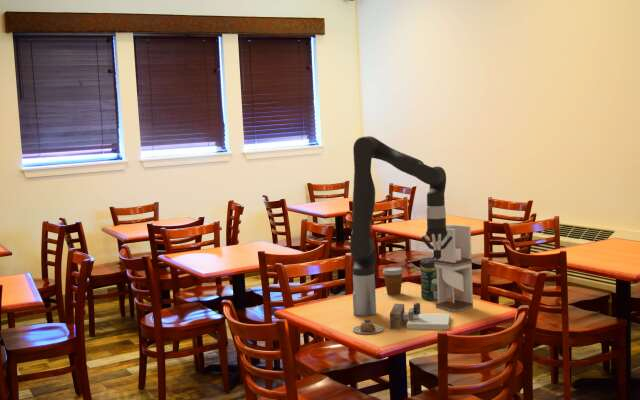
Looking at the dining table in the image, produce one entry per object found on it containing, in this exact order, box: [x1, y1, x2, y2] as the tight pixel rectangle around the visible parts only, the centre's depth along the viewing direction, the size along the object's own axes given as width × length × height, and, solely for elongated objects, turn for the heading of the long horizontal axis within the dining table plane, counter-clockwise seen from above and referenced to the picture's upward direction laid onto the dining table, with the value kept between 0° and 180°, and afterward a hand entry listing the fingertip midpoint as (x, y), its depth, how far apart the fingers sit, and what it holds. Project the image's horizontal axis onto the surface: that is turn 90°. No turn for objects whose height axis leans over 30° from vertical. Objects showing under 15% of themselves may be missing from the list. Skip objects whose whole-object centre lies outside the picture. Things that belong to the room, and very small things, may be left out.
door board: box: [406, 307, 451, 330], centre depth 310 cm, size 16×16×6 cm
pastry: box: [352, 319, 384, 335], centre depth 305 cm, size 12×12×5 cm
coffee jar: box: [419, 256, 438, 302], centre depth 349 cm, size 10×8×19 cm
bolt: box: [402, 302, 421, 320], centre depth 312 cm, size 11×3×6 cm, turn 78°
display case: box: [433, 223, 474, 313], centre depth 331 cm, size 11×11×35 cm
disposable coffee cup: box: [382, 266, 404, 297], centre depth 362 cm, size 10×10×12 cm
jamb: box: [389, 303, 406, 330], centre depth 313 cm, size 4×16×6 cm, turn 168°
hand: (437, 259), depth 313 cm, fingers closed
